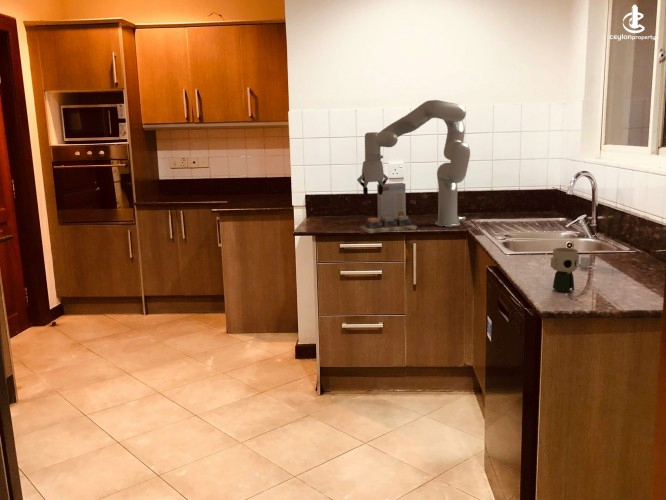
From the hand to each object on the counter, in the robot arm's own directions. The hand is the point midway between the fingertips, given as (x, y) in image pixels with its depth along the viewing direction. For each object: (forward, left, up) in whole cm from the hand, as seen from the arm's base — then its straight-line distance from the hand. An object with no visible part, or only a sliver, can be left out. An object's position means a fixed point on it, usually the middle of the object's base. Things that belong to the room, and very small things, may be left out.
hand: (373, 194), depth 306 cm
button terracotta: (0, 0, -15) cm, 15 cm away
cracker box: (-18, -17, -18) cm, 31 cm away
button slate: (-8, 0, -15) cm, 17 cm away
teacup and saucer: (-38, +107, -19) cm, 115 cm away
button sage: (-16, 0, -15) cm, 22 cm away
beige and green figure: (-8, +128, -18) cm, 130 cm away
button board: (-8, 0, -18) cm, 19 cm away
